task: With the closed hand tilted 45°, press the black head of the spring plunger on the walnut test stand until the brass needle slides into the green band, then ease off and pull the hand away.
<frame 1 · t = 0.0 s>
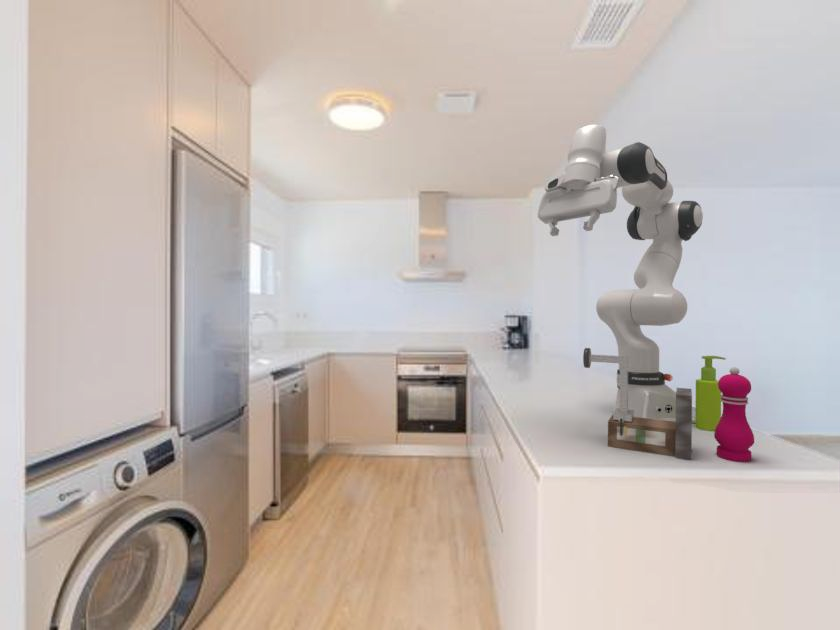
hand: (570, 232, 109), 52 cm above the countertop, fingers open, 8 cm apart
soap dispenser: (710, 428, 121), on the countertop
plunger: (607, 389, 107), point 13 cm above the countertop, slide at 0.0 cm
pepper mill: (733, 458, 97), on the countertop
test stand: (641, 446, 104), on the countertop
peak needle: (625, 430, 102), point 4 cm above the countertop, slide at 0.0 cm
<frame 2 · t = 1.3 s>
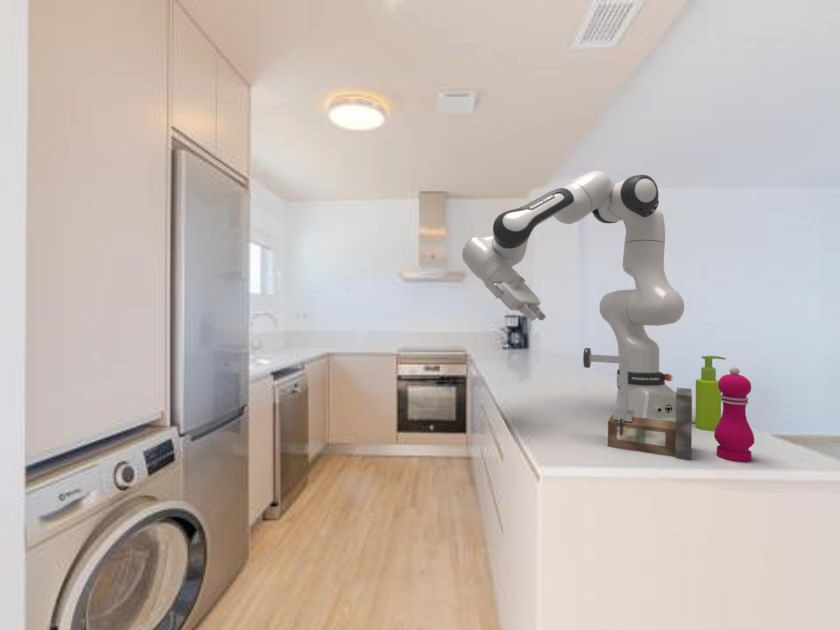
hand: (539, 319, 117), 30 cm above the countertop, fingers open, 7 cm apart
nothing on the countertop moved.
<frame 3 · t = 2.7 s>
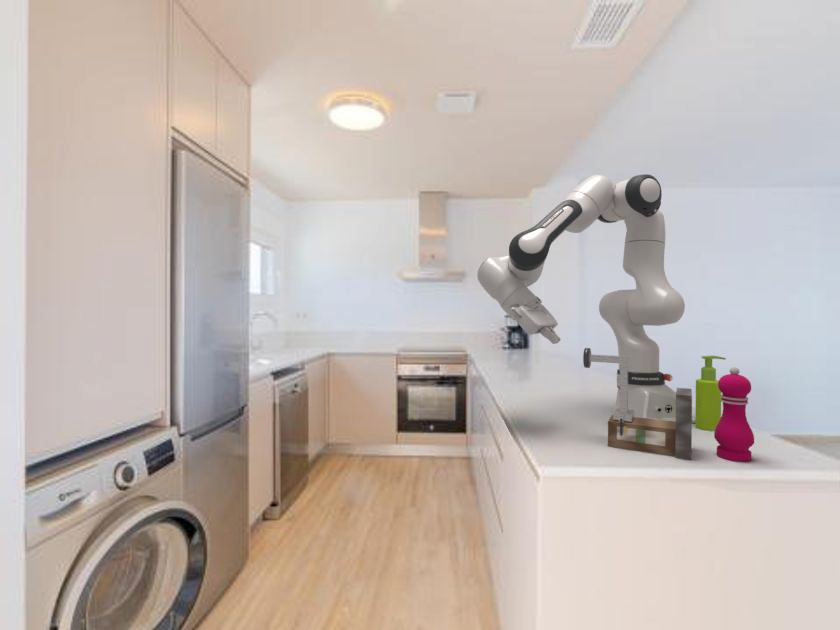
hand: (557, 342, 114), 24 cm above the countertop, fingers closed
nothing on the countertop moved.
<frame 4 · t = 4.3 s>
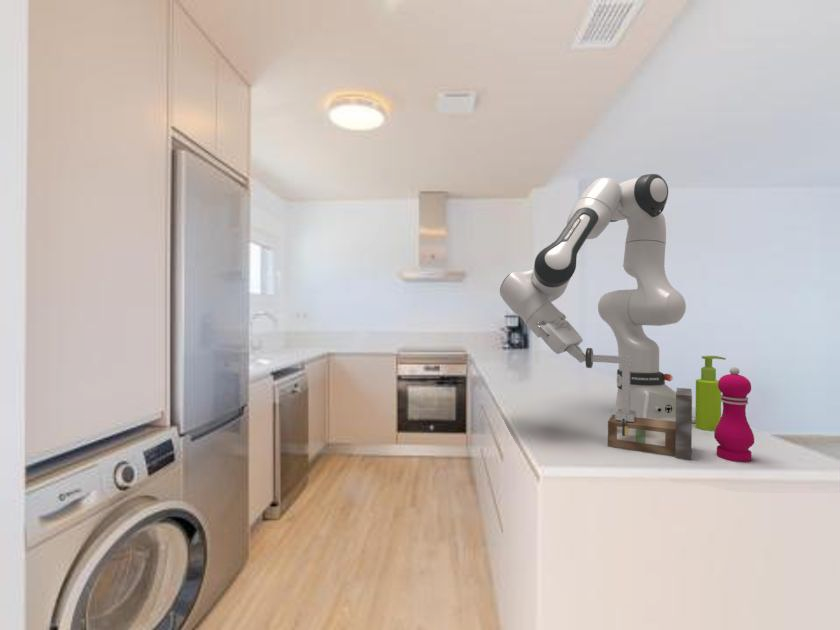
hand: (584, 360, 111), 20 cm above the countertop, fingers closed, pressing on plunger
plunger: (610, 389, 107), point 13 cm above the countertop, slide at 0.5 cm, touching gripper, peak needle
peak needle: (626, 430, 102), point 4 cm above the countertop, slide at 0.2 cm, touching plunger
everything else where it was.
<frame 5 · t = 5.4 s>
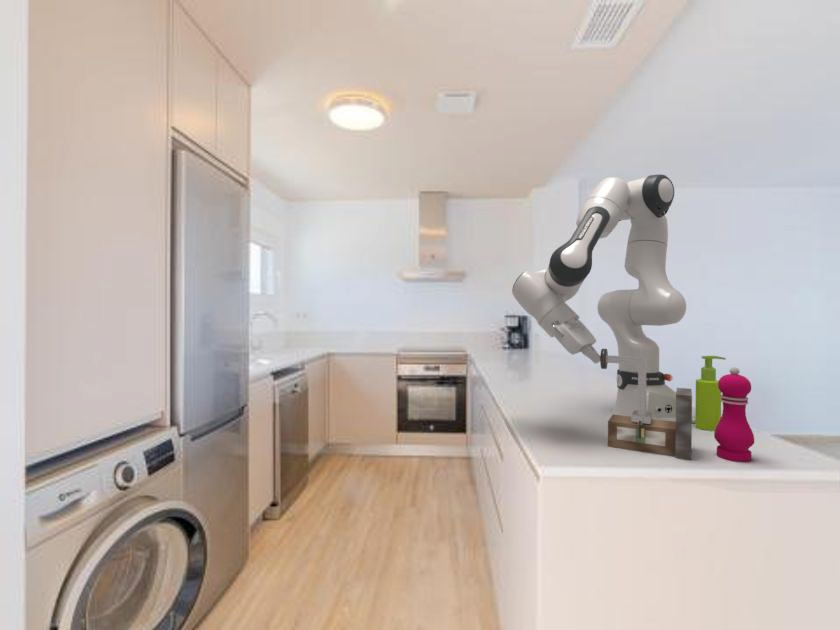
hand: (599, 361, 109), 20 cm above the countertop, fingers closed, pressing on plunger
plunger: (625, 391, 105), point 13 cm above the countertop, slide at 4.0 cm, touching gripper, peak needle
peak needle: (642, 432, 100), point 4 cm above the countertop, slide at 3.7 cm, touching plunger
everything else where it was.
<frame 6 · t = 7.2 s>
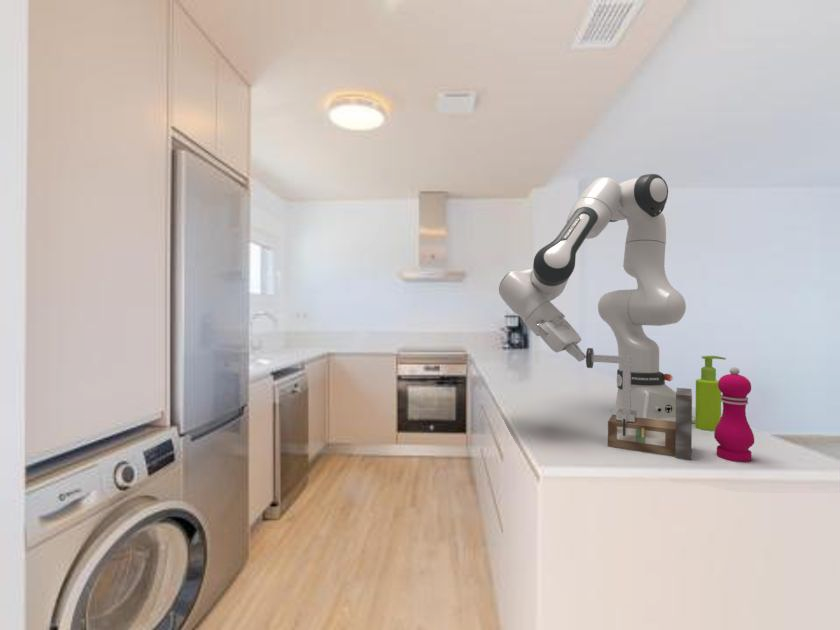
hand: (583, 359, 111), 20 cm above the countertop, fingers closed
plunger: (610, 389, 107), point 13 cm above the countertop, slide at 0.6 cm
peak needle: (642, 432, 100), point 4 cm above the countertop, slide at 3.7 cm
everything else where it was.
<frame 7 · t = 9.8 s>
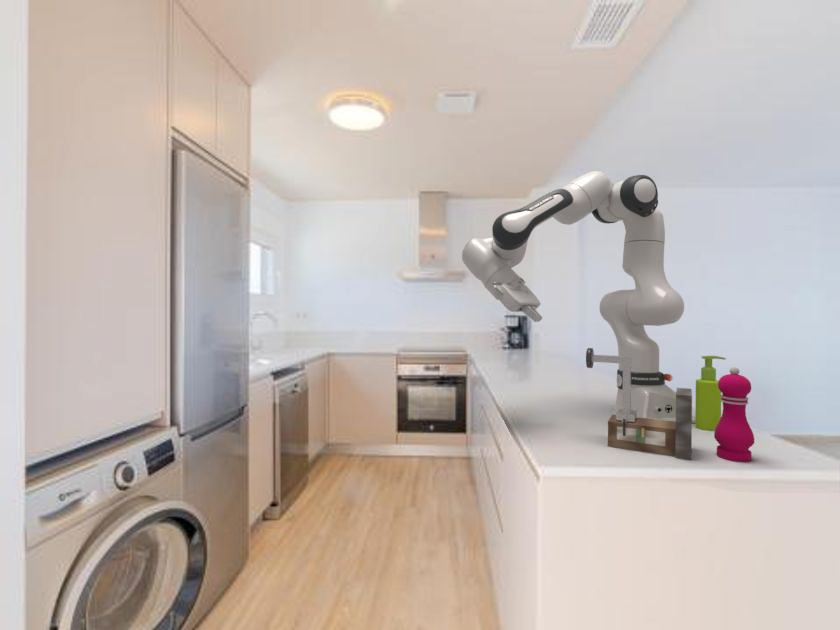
hand: (539, 320, 117), 30 cm above the countertop, fingers closed
nothing on the countertop moved.
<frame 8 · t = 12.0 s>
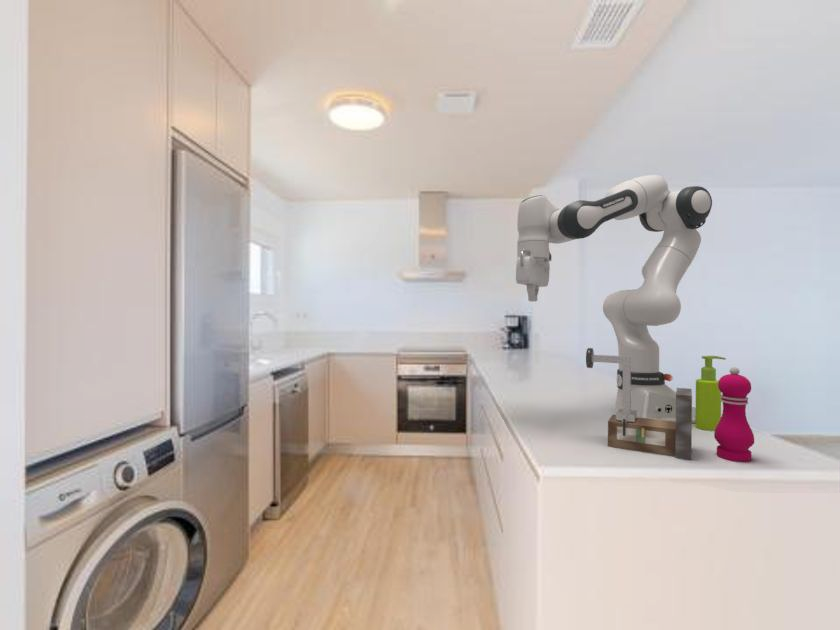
hand: (532, 301, 125), 35 cm above the countertop, fingers closed
nothing on the countertop moved.
at the end: peak needle slide at 3.7 cm; plunger slide at 0.6 cm; pepper mill moved 0.2 cm from its start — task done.
